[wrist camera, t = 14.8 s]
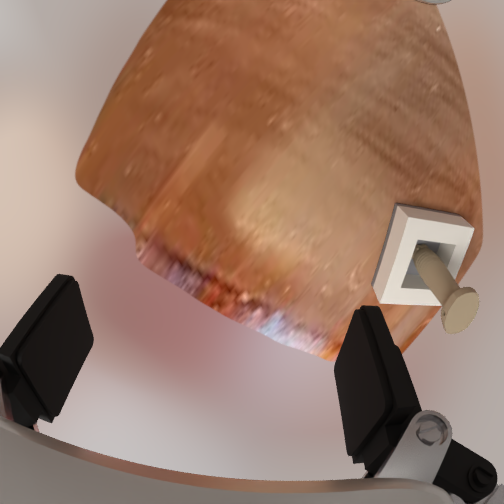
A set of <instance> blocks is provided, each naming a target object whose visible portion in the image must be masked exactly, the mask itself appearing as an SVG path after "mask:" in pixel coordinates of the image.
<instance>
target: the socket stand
mask: <svg viewBox="0 0 504 504" xmlns="http://www.w3.org/2000/svg"><path fill="white" fill-rule="evenodd" d="M474 229H475V228H474V227H473V226H471V225H470V224H469V223H468V222H467V221H466V220H465V219H464V218H462V217H461V216H460V215H459V214H455V213H449V212H444V211H439V210H434V209H428V208H423V207H417V206H411V205H405V204H399V203H395V205H394V209H393V213H392V217H391V220H390V224H389V228H388V231H387V235H386V238H385V242H384V245H383V249H382V252H381V255H380V258H379V262H378V265H377V268H376V271H375V274H374V277H373V280H372V283H371V284H372V287H373V289H374V291H375V294H376V296H377V298H378V301H379V303H383V304H405V305H432V306H442V305H441V304H440V302H439V301H438V300H437V298H436V297H435V295H434V294H433V293H432V291H431V290H430V289H429V288H428V286H427V285H426V284H425V282H424V281H423V279H422V278H421V276H420V275H419V273H418V271H417V269H416V267H415V265H414V261H413V259H412V255H413V252H414V249H415V246H416V245H417V244H418V245H421V244H425V245H427V246H428V248H429V249H430V250H432V251H433V252H434V253H435V254H436V255H437V256H438V257H439V258H440V259H441V260H442V261H443V263H444V264H445V266H446V267H447V269H448V270H449V272H450V273H451V275H452V277H453V278H454V280H455V278H456V276H457V273H458V271H459V268H460V266H461V264H462V261H463V259H464V256H465V253H466V251H467V248H468V246H469V243H470V240H471V238H472V235H473V232H474Z"/></svg>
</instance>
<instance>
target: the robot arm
mask: <svg viewBox="0 0 504 504" xmlns="http://www.w3.org/2000/svg"><path fill="white" fill-rule="evenodd" d="M418 1H420V2H423V3H427V4H436V5H437V4H443V3H446V2H449V1H451V0H418ZM93 341H94V337H93V334H92V330H91V327H90V324H89V321H88V317H87V314H86V310H85V307H84V303H83V299H82V296H81V292H80V288H79V284H78V282H77V281H75V279H74V277H73V276H69V275H63V274H57V275H56V276H55V277H54V278H53V280H52V281H51V282H50V283H49V285H48V286H47V287H46V288H45V290H44V291H43V292H42V293H41V294H40V296H39V297H38V298H37V299H36V301H35V302H34V303H33V304H32V306H31V307H30V308H29V309H28V311H27V312H26V313H25V315H24V316H23V317H22V319H21V320H20V321H19V322H18V324H17V325H16V327H15V328H14V329H13V331H12V332H11V333H10V335H9V336H8V338H7V339H6V340H5V342H4V343H3V345H2V346H1V347H0V504H504V485H503V484H501V485H499V486H498V484H497V472H496V469H495V468H494V466H493V465H492V464H491V463H490V462H489V461H488V460H486V459H484V458H483V457H481V456H479V455H478V454H476V453H474V452H473V451H471V450H469V449H468V448H466V447H464V446H463V445H461V444H459V443H458V442H456V441H454V440H453V439H451V438H452V428H451V425H450V423H449V421H448V420H447V419H446V418H445V417H444V416H443V415H441V414H440V413H438V412H436V411H432V410H431V411H430V410H425V411H422V410H421V407H420V404H419V401H418V398H417V395H416V392H415V389H414V386H413V384H412V381H411V378H410V375H409V372H408V370H407V367H406V364H405V361H404V359H403V357H402V354H401V351H400V349H399V347H398V346H396V345H395V344H394V342H393V339H392V337H391V334H390V332H389V329H388V326H387V324H386V322H385V319H384V317H383V314H382V312H381V309H380V308H379V307H378V306H365V305H363V306H361V307H360V309H359V310H355V311H354V314H353V317H352V320H351V322H350V325H349V328H348V331H347V333H346V336H345V339H344V342H343V344H342V347H341V349H340V352H339V355H338V357H337V360H336V362H335V366H334V374H335V380H336V386H337V392H338V398H339V404H340V410H341V416H342V422H343V429H344V435H345V443H346V450H347V454H348V455H349V456H352V458H353V463H354V464H355V463H364V465H365V470H367V471H366V473H365V474H364V476H363V477H362V478H361V479H346V480H326V481H264V480H246V479H234V478H223V477H213V476H206V475H198V474H191V473H184V472H178V471H172V470H167V469H162V468H156V467H151V466H147V465H142V464H137V463H134V462H130V461H126V460H122V459H118V458H114V457H110V456H107V455H103V454H100V453H96V452H93V451H90V450H87V449H83V448H80V447H77V446H74V445H71V444H69V443H66V442H63V441H60V440H57V439H55V438H52V437H49V436H47V435H44V434H42V433H39V429H38V426H37V420H38V418H40V419H42V420H44V421H47V422H50V423H52V422H53V420H54V417H56V416H58V415H59V413H60V412H61V409H62V407H63V405H64V403H65V401H66V399H67V396H68V394H69V392H70V390H71V388H72V386H73V384H74V382H75V380H76V378H77V375H78V373H79V371H80V369H81V367H82V365H83V363H84V361H85V359H86V357H87V355H88V353H89V351H90V350H91V348H92V346H93Z"/></svg>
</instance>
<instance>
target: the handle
mask: <svg viewBox="0 0 504 504" xmlns="http://www.w3.org/2000/svg"><path fill="white" fill-rule="evenodd" d="M412 259H413V261H414V265H415V267H416V269H417V271H418V273H419V275H420V276H421V278H422V279H423V281H424V282H425V284H426V285H427V286H428V288H429V289H430V290H431V291H432V293H433V294H434V295H435V297H436V298H437V300H438V301H439V302H440V304H441V305H442V310H441V319H442V324H443V327H444V329H445V331H446V332H447V333H448V334H455V333H459V332H461V331H463V330H465V329H466V328H467V327H468V326H469V325H470V323H471V322H472V321H473V319H474V317H475V315H476V313H477V310H478V307H479V298H478V294H477V292H476V291H475V290H474V289H473V288H471V287H463V288H460V287H459V286H458V284H457V283H456V281H455V280H454V278H453V277H452V275H451V273H450V272H449V270H448V269H447V267H446V266H445V264H444V263H443V261H442V260H441V259H440V258H439V257H438V256H437V255H436V254H435V253H434V252H433V251H432V250H430V249H429V248H428V246H427V245H425V244H421V245H418V244H417V245H416V246H415V249H414V252H413V255H412Z"/></svg>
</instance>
